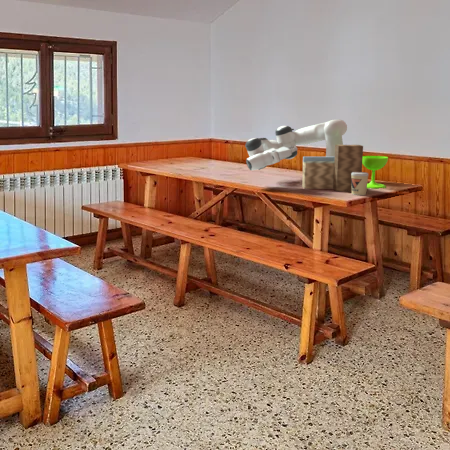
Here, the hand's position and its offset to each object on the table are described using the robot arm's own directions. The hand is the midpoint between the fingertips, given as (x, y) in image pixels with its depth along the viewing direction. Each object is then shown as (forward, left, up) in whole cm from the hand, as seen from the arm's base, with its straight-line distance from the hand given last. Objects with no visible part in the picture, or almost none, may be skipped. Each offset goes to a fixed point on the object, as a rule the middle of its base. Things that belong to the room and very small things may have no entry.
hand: (295, 147), depth 354 cm
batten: (+4, +14, -8) cm, 17 cm away
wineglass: (+12, +47, -24) cm, 54 cm away
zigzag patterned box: (+5, +17, -24) cm, 30 cm away
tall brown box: (+19, +24, -24) cm, 39 cm away
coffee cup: (+34, +22, -24) cm, 47 cm away
